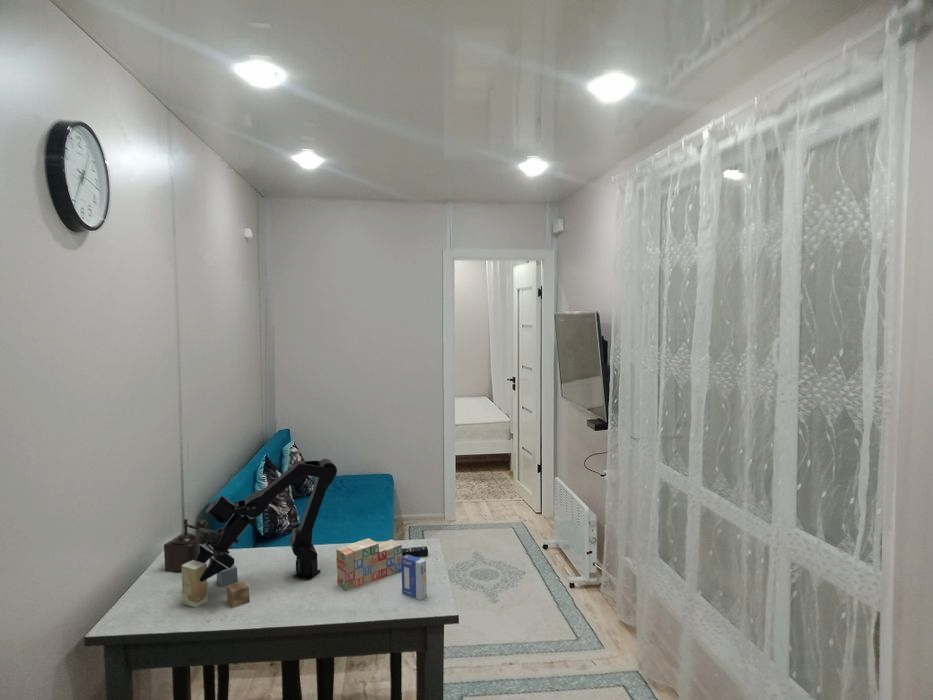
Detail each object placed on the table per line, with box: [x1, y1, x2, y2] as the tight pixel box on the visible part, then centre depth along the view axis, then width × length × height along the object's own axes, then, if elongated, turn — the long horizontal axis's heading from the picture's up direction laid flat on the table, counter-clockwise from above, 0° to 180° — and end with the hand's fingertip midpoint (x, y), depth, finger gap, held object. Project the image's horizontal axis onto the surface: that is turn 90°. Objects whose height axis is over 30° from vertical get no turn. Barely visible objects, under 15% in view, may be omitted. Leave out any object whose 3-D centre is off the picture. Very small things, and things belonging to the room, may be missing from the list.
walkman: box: [401, 553, 428, 601], centre depth 176 cm, size 8×3×12 cm, turn 54°
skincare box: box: [181, 560, 208, 609], centre depth 173 cm, size 6×4×12 cm
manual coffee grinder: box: [163, 518, 208, 573], centre depth 198 cm, size 16×11×18 cm
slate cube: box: [216, 563, 239, 588], centre depth 187 cm, size 5×5×5 cm
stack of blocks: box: [335, 537, 403, 592], centre depth 188 cm, size 21×6×12 cm, turn 130°
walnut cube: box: [226, 580, 250, 609], centre depth 174 cm, size 5×5×5 cm
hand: (196, 575), depth 173 cm, fingers open, 9 cm apart
